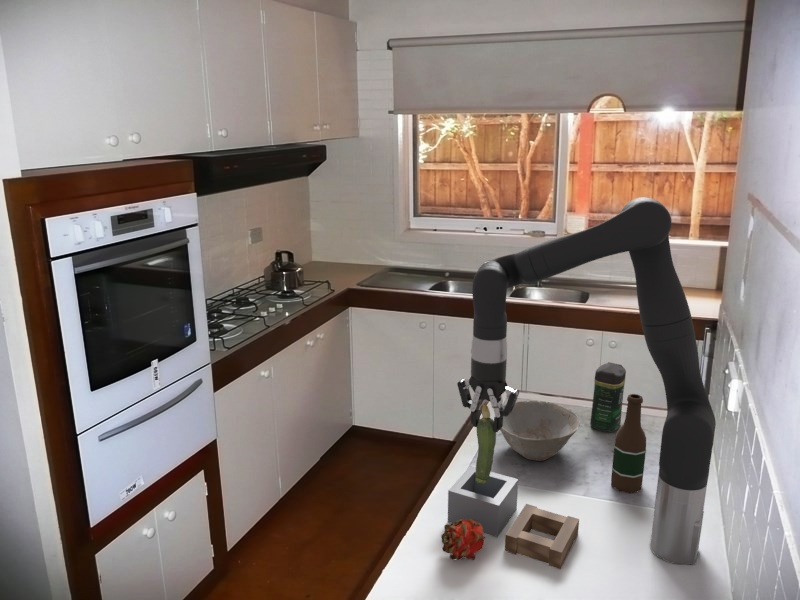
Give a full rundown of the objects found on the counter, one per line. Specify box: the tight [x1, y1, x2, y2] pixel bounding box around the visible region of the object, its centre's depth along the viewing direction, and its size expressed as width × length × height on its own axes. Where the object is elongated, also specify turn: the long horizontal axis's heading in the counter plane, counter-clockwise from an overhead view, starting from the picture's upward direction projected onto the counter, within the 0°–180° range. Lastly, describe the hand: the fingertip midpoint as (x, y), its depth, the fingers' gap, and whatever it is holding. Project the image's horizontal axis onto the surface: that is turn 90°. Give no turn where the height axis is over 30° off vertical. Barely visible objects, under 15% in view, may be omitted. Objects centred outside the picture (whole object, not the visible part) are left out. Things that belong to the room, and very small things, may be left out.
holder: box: [447, 465, 519, 539], centre depth 154 cm, size 12×12×8 cm
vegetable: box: [475, 403, 497, 484], centre depth 150 cm, size 4×4×20 cm
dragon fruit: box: [440, 518, 486, 561], centre depth 141 cm, size 8×8×12 cm
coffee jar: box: [589, 362, 627, 433], centre depth 195 cm, size 10×8×19 cm
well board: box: [504, 503, 580, 570], centre depth 145 cm, size 12×13×4 cm
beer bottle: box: [610, 393, 647, 494], centre depth 164 cm, size 8×8×24 cm
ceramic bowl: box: [499, 400, 581, 462], centre depth 182 cm, size 22×23×10 cm
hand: (486, 427), depth 149 cm, fingers closed on vegetable, 4 cm apart
